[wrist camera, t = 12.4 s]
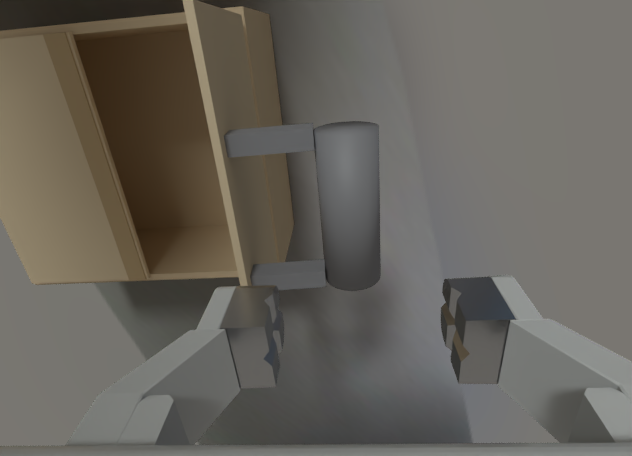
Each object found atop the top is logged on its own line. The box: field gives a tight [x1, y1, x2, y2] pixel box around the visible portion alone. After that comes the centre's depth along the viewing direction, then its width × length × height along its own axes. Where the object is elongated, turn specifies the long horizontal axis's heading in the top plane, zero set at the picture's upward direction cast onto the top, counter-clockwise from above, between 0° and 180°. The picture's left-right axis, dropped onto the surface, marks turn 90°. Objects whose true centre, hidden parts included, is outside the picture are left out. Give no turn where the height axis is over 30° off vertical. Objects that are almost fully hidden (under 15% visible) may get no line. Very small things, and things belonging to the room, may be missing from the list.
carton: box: [0, 6, 294, 285], centre depth 27 cm, size 16×18×9 cm
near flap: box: [183, 0, 380, 291], centre depth 19 cm, size 15×9×6 cm
